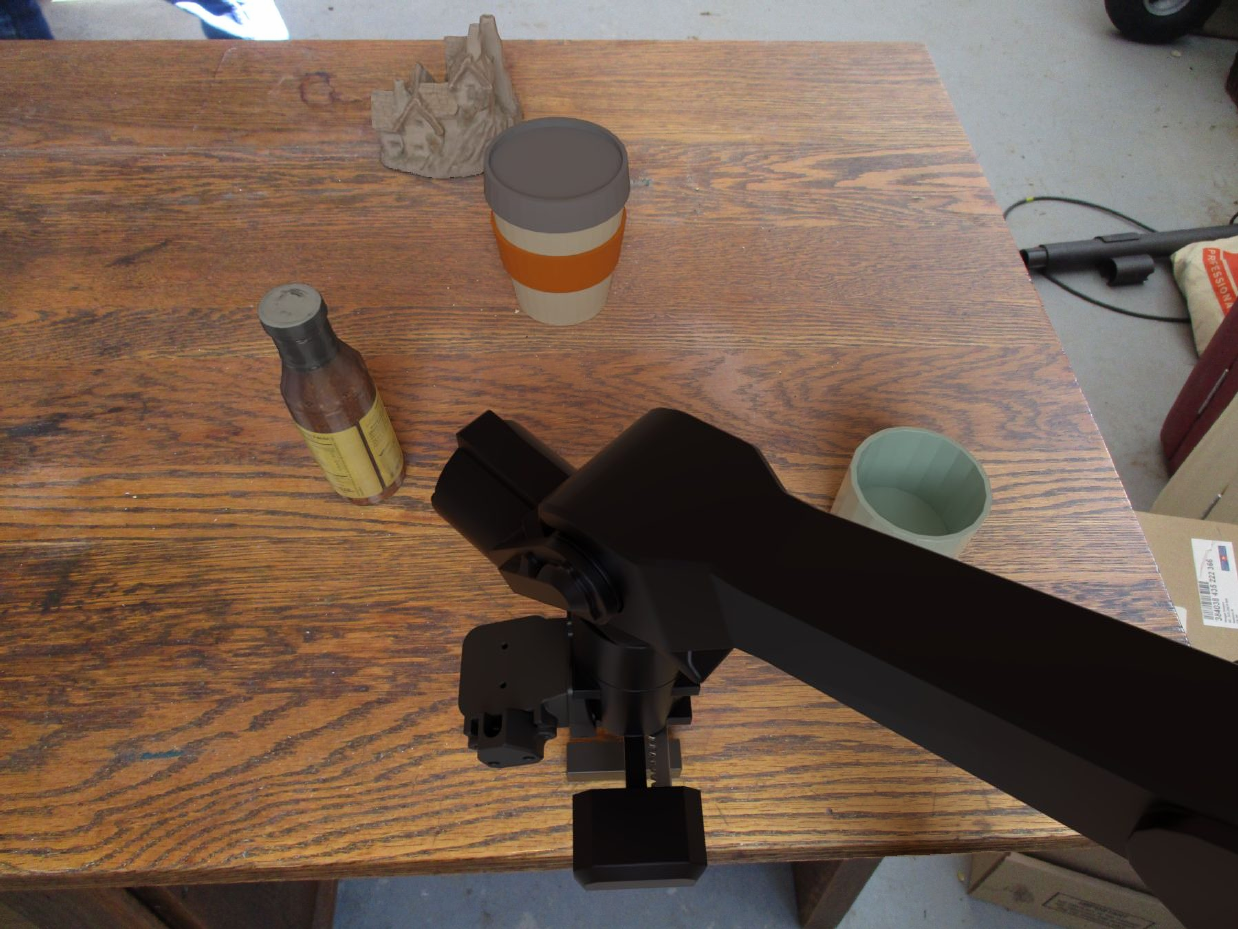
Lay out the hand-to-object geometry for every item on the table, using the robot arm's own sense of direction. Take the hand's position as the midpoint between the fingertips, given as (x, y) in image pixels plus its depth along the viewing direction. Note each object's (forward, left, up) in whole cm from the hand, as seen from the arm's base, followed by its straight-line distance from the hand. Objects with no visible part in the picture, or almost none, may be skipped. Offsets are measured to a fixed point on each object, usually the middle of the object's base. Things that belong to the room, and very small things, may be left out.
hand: (626, 738), depth 50 cm
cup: (+5, -27, -6) cm, 28 cm away
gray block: (0, 0, -6) cm, 6 cm away
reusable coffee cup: (+42, -17, -6) cm, 46 cm away
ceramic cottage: (+71, -18, -6) cm, 74 cm away
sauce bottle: (+30, +7, -6) cm, 31 cm away
